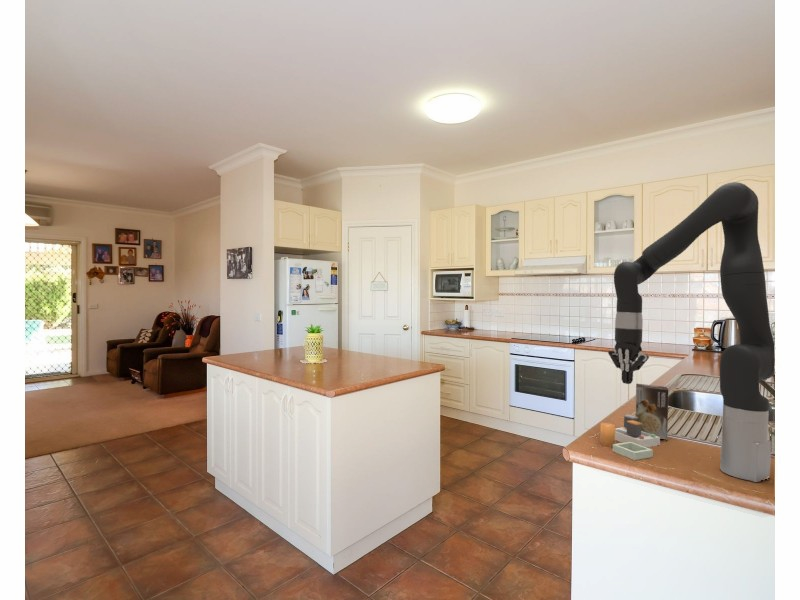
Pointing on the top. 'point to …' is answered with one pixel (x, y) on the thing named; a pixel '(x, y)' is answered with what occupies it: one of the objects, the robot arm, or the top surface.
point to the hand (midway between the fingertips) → (626, 383)
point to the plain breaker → (628, 418)
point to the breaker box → (637, 438)
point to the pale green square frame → (639, 450)
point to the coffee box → (652, 409)
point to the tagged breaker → (634, 428)
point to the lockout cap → (607, 434)
